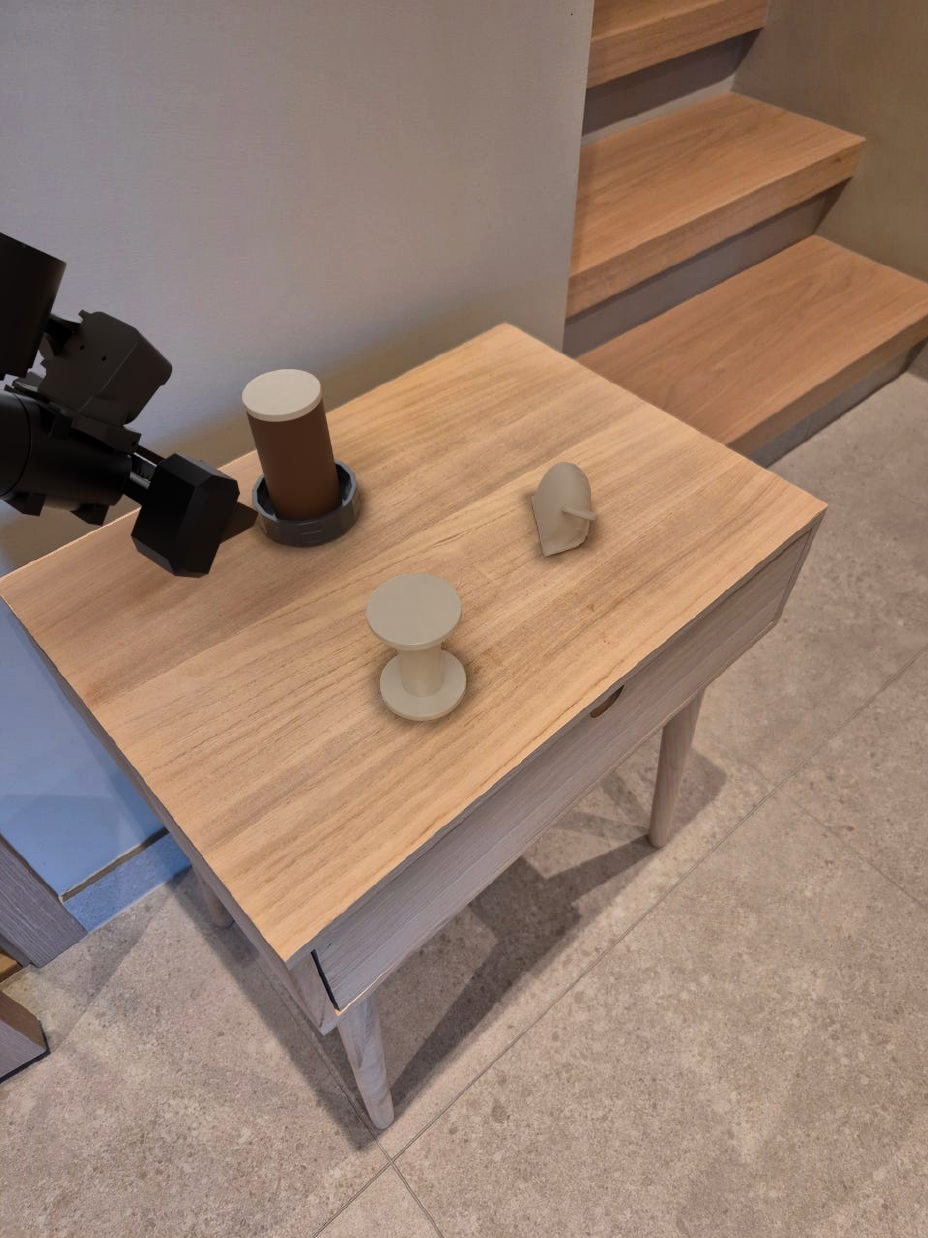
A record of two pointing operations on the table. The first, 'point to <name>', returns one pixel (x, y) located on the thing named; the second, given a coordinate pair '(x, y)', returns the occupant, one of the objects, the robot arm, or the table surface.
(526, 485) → the table surface
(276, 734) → the table surface
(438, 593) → the stand
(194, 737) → the table surface
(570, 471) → the beige curved piece
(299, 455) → the brown lidded canister
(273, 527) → the bowl
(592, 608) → the table surface
